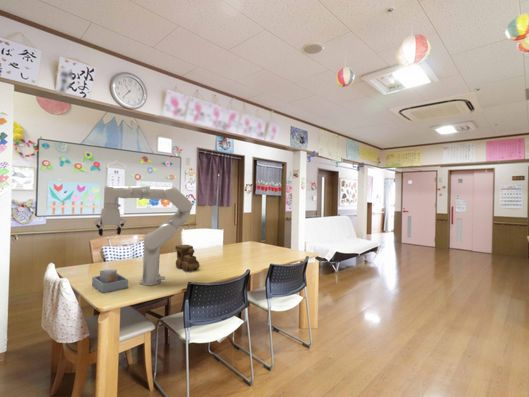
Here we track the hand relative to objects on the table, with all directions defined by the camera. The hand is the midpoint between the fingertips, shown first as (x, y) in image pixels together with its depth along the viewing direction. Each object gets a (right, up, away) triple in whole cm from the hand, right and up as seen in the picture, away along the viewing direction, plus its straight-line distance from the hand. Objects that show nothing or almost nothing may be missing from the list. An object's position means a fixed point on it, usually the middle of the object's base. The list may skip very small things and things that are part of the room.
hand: (109, 234), depth 165 cm
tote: (+1, -30, -2) cm, 30 cm away
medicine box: (-1, -30, 0) cm, 30 cm away
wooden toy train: (+34, -32, +44) cm, 64 cm away
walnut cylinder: (+4, -30, -5) cm, 31 cm away
